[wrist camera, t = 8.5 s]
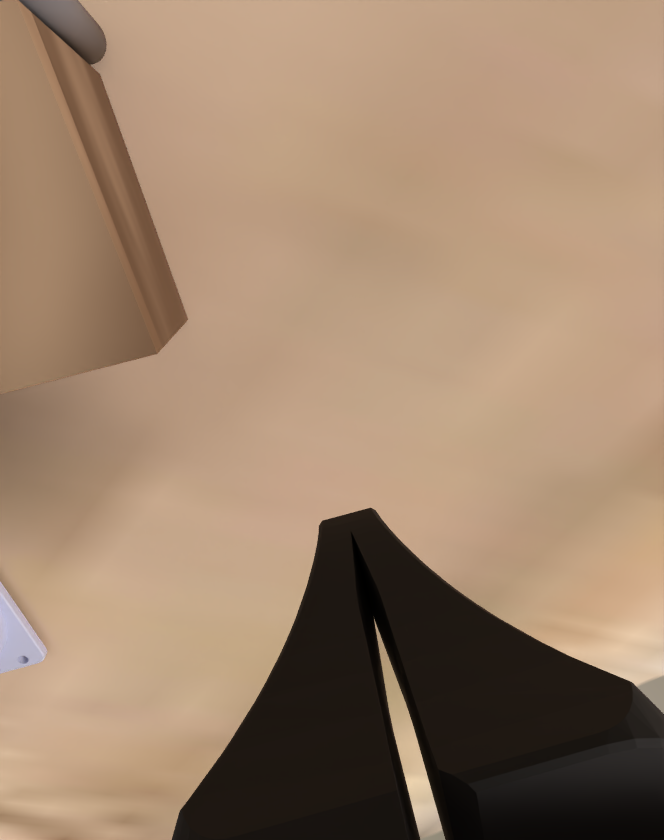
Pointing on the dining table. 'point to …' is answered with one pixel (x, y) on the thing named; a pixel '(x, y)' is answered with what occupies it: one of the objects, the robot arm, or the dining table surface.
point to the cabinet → (70, 220)
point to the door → (71, 26)
